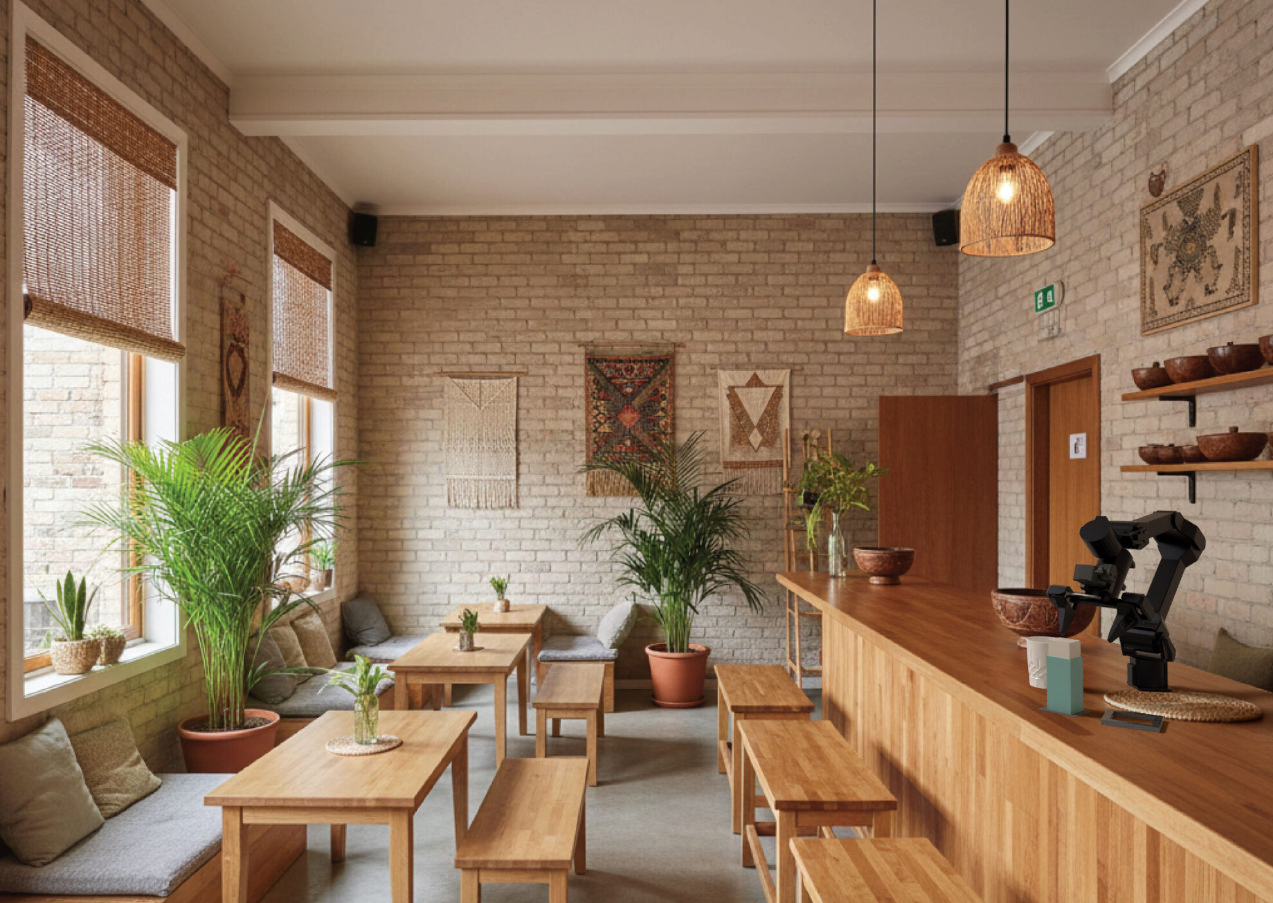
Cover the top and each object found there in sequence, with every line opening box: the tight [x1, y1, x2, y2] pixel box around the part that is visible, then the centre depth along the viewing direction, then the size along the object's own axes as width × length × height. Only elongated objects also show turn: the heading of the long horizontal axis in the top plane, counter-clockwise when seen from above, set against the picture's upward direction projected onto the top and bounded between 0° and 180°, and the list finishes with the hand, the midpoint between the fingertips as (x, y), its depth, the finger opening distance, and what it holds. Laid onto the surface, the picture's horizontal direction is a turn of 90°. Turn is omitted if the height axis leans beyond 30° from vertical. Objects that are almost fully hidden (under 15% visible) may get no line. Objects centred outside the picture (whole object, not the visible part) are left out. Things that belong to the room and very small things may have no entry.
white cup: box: [1025, 636, 1055, 690], centre depth 183 cm, size 8×8×10 cm
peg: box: [1046, 636, 1084, 715], centre depth 164 cm, size 4×4×13 cm
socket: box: [1100, 708, 1165, 734], centre depth 156 cm, size 12×12×1 cm
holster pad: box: [1038, 705, 1094, 718], centre depth 164 cm, size 7×7×1 cm
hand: (1084, 638), depth 169 cm, fingers open, 9 cm apart
